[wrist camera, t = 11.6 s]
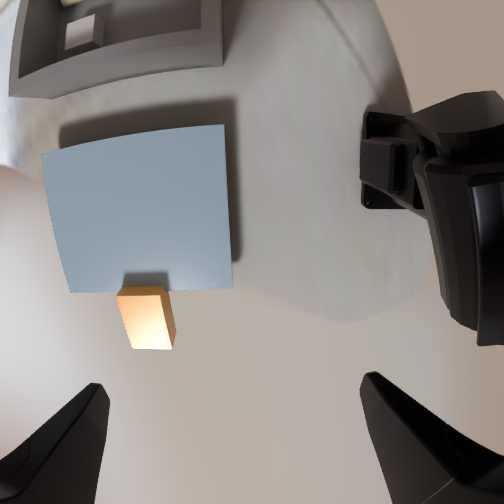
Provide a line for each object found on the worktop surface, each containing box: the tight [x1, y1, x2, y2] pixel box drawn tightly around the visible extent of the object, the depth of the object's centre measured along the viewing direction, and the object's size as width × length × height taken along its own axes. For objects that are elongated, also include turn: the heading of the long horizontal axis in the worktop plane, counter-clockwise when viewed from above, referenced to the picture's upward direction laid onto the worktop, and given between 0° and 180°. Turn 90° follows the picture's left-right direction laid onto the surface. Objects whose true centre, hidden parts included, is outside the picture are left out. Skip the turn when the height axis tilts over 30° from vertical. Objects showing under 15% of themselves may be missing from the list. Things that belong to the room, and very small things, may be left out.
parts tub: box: [9, 0, 223, 99], centre depth 10 cm, size 12×10×5 cm
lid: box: [41, 124, 233, 349], centre depth 18 cm, size 12×14×3 cm
